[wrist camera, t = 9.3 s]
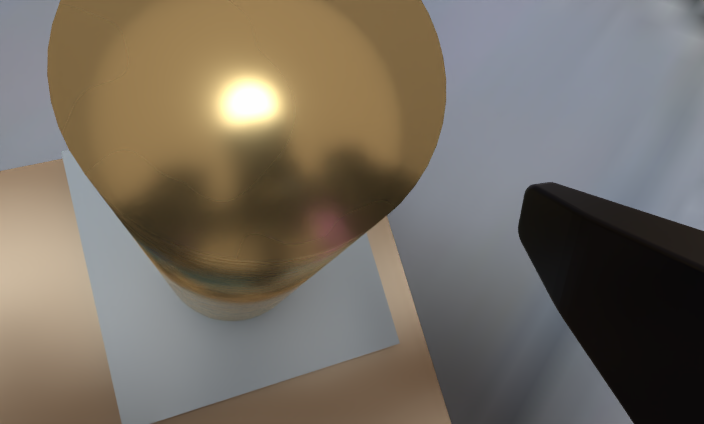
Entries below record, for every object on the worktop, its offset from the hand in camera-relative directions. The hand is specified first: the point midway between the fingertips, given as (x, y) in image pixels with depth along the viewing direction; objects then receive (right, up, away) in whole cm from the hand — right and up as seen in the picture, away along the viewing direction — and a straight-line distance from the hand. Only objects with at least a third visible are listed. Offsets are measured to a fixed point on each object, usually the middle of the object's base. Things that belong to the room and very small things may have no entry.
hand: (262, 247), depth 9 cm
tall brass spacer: (-2, -1, +8) cm, 9 cm away
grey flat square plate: (-2, -1, +10) cm, 10 cm away
